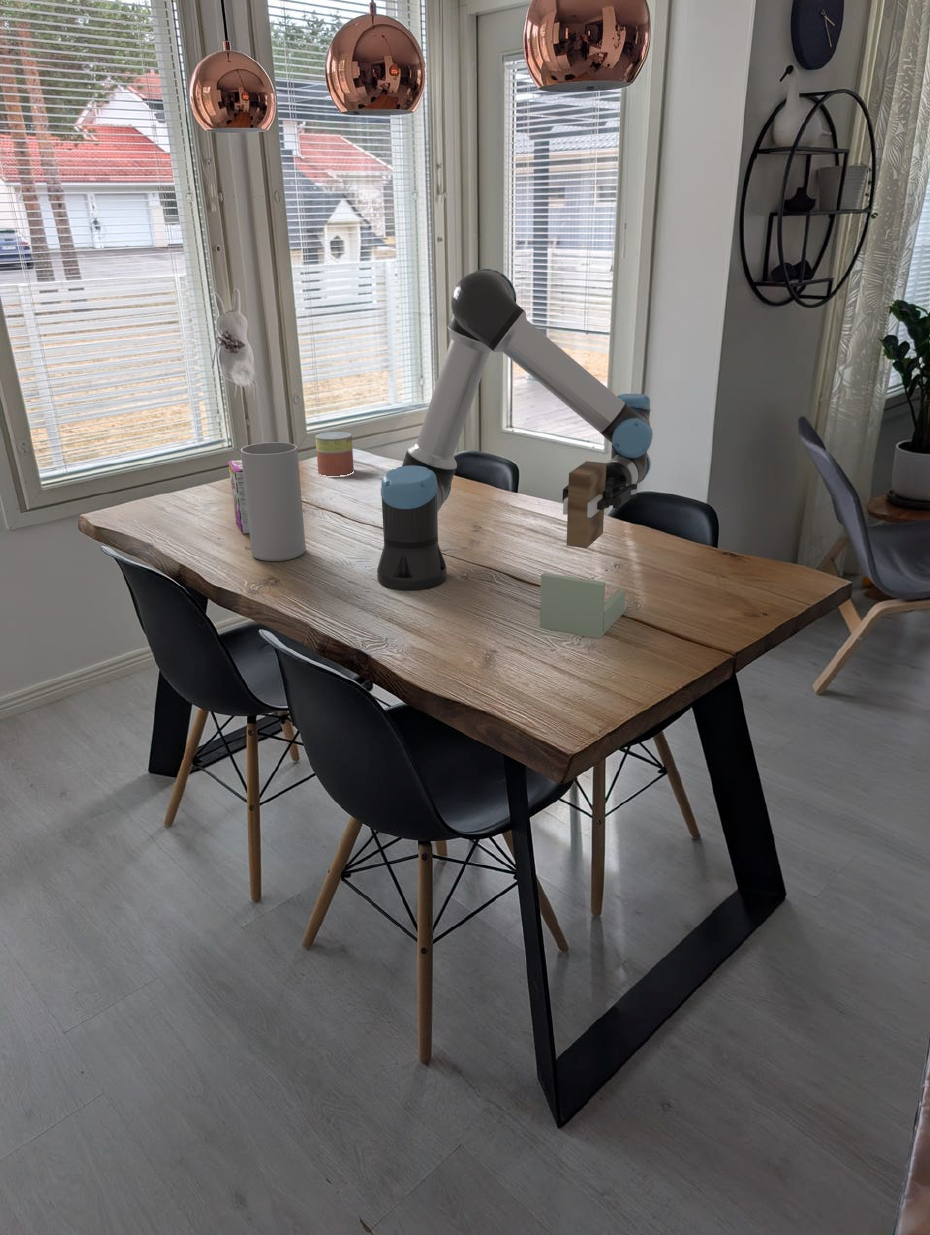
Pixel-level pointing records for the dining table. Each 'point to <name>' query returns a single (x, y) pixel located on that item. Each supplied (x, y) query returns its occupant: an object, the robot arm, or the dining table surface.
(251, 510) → the cylinder vase
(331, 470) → the canned food
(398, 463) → the dining table surface
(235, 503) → the candy bar box
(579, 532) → the walnut block
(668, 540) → the dining table surface
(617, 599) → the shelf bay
